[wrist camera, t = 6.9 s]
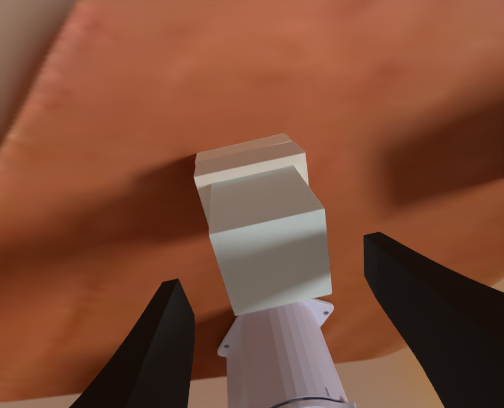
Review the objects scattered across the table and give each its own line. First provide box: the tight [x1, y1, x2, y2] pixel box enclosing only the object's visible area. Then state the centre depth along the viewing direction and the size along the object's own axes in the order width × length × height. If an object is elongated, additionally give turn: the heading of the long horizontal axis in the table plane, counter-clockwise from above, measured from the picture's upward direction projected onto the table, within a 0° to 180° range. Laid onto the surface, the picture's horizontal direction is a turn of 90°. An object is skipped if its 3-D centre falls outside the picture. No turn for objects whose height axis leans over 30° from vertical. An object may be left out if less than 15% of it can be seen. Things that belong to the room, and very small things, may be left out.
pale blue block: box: [209, 165, 332, 316], centre depth 14 cm, size 4×4×5 cm
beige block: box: [194, 141, 309, 225], centre depth 17 cm, size 6×6×2 cm
